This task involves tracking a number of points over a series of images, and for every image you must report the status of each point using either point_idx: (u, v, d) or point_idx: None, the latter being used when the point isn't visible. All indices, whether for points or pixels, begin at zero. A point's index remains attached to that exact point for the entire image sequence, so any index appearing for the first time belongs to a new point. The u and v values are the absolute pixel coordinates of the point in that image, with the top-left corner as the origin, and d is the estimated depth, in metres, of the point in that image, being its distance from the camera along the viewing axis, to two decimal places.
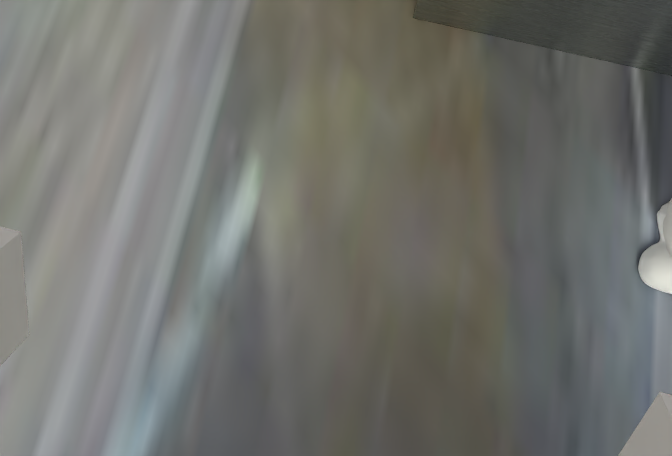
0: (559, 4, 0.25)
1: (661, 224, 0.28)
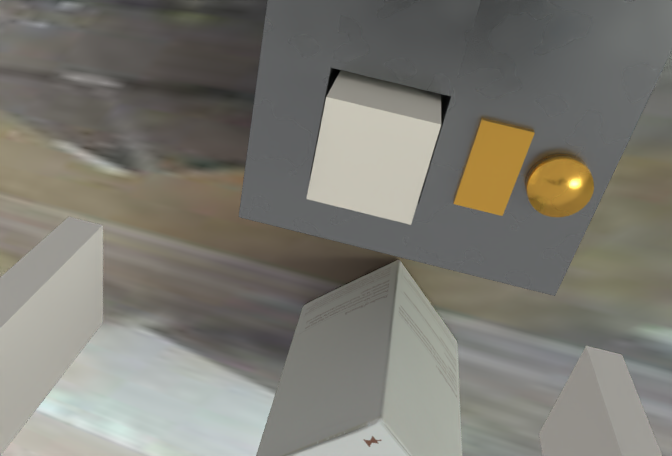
0: None
1: None
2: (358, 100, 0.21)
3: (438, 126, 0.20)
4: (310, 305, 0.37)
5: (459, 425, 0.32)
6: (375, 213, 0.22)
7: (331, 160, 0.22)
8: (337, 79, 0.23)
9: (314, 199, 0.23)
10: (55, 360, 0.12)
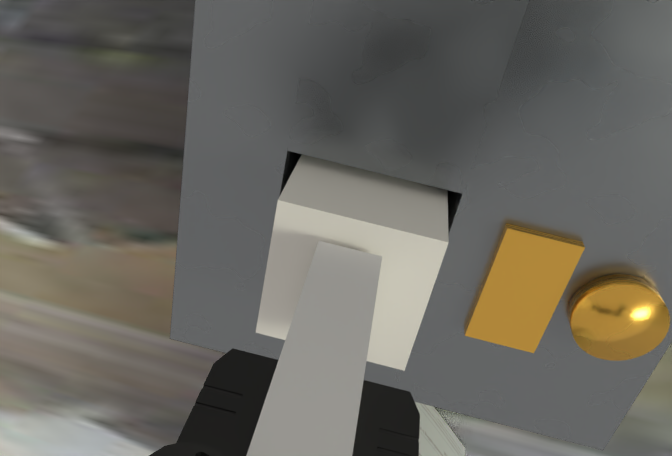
0: None
1: None
2: (327, 202, 0.14)
3: (444, 245, 0.14)
4: None
5: None
6: None
7: (288, 284, 0.15)
8: (299, 162, 0.16)
9: (266, 333, 0.16)
10: None
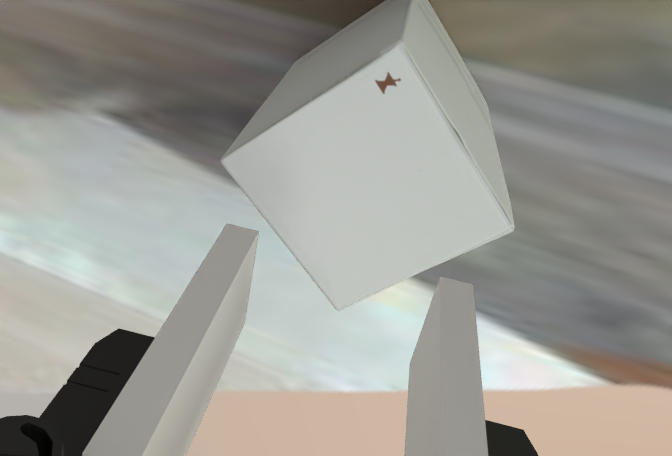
0: None
1: None
2: None
3: None
4: (303, 56, 0.30)
5: (497, 154, 0.24)
6: None
7: None
8: None
9: None
10: (223, 356, 0.13)
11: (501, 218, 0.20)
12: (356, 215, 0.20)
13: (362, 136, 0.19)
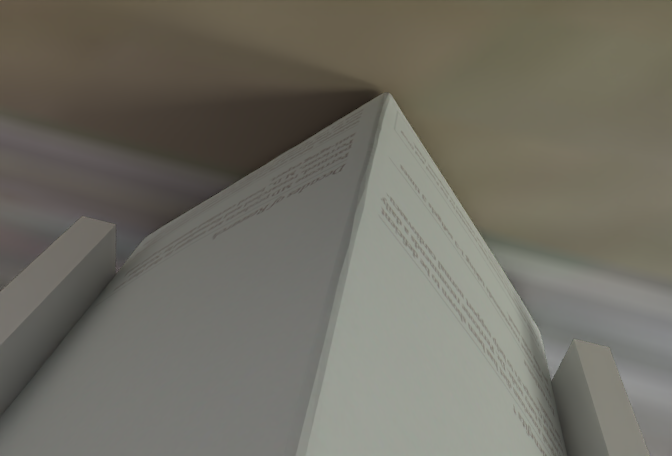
0: None
1: None
2: None
3: None
4: (154, 235, 0.14)
5: None
6: None
7: None
8: None
9: None
10: None
11: None
12: None
13: None
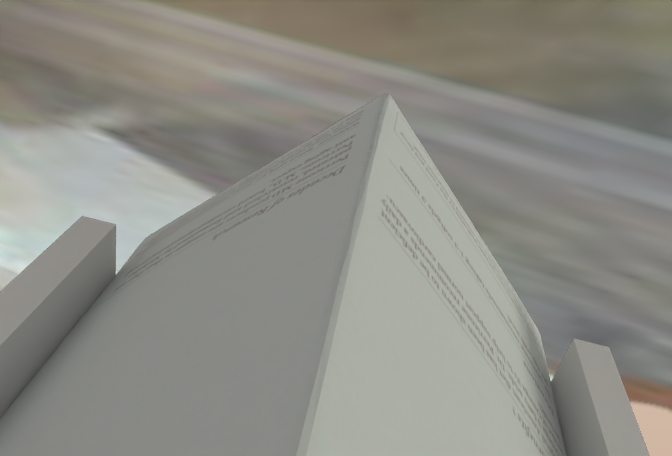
0: None
1: None
2: None
3: None
4: (154, 236, 0.14)
5: None
6: None
7: None
8: None
9: None
10: None
11: None
12: None
13: None
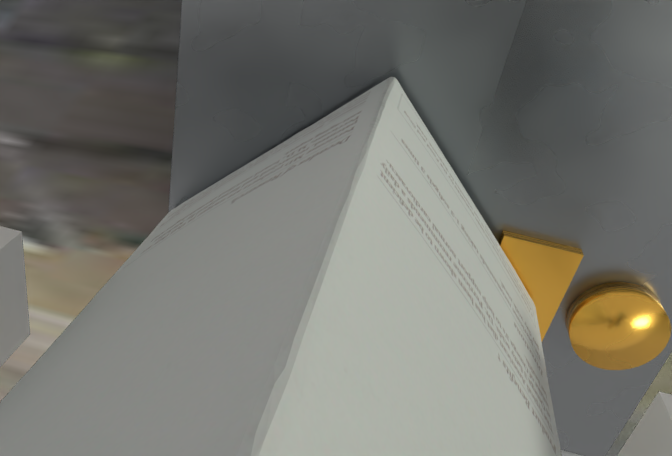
0: None
1: None
2: None
3: None
4: (177, 208, 0.15)
5: None
6: None
7: None
8: None
9: None
10: None
11: None
12: None
13: None
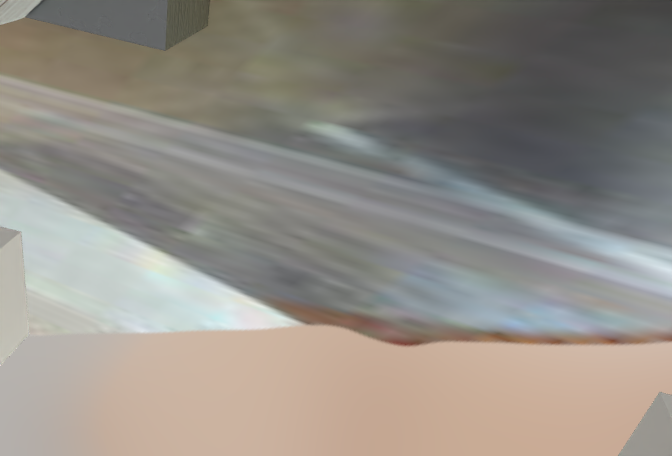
0: None
1: None
2: None
3: None
4: None
5: None
6: None
7: None
8: None
9: None
10: None
11: None
12: None
13: None
